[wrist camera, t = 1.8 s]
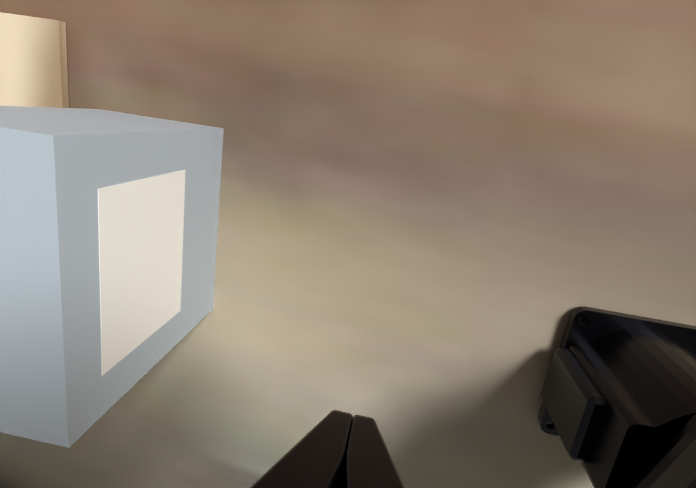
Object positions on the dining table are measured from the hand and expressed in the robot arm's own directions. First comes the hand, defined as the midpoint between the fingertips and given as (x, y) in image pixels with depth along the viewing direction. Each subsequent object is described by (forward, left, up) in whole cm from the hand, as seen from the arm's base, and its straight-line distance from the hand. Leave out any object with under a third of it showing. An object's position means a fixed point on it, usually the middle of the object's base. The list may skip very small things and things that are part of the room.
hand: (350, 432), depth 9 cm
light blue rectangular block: (+11, 0, -12) cm, 17 cm away
